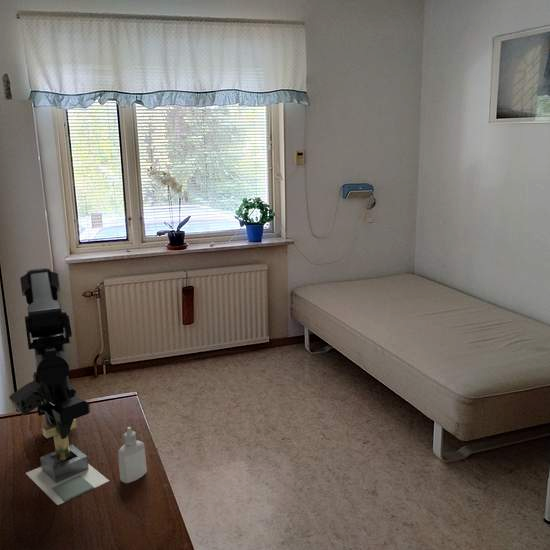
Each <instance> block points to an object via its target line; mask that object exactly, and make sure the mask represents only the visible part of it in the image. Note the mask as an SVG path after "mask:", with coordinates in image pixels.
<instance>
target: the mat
mask: <svg viewBox="0 0 550 550" xmlns="http://www.w3.org/2000/svg"><path fill="white" fill-rule="evenodd" d="M93 488H94V487H93V486H92V485H91V484H90V483H89V482H87V481H86V480H85V479H84V478H83V477H82V476H77V477H75V478H73V479H71V480H68V481H66V482H64V483H62V484H59V485H57V486H55V487H53V488H52V489H53V490H54V491H55V492H56V493H57V494H58V495H59V496H60V497H61V498H62V499H63V500H64V501H66V502H68V501H70V500H72V499H74V498H76V496H77V497H79V496H81V495H83V494H86V493H88V492H90V491H91V490H94V489H95V488H94V489H93ZM82 493H83V494H82ZM80 494H81V495H80ZM78 495H79V496H78Z"/></svg>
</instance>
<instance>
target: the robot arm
mask: <svg viewBox="0 0 550 550" xmlns="http://www.w3.org/2000/svg"><path fill="white" fill-rule="evenodd" d="M19 281H20V287H21V294H22V297H25V299H26V304H27V315H24V323H25V331H26V338H27V346H28V347H27V348H28V350H33V351H34V356H35V368H36V370H35V371H34V372H33V375H32V378H33V379H32V381H31V382H28V383H27V384H25V385H23V386H22V387H20V388H18V389H17V390H16V391H14V392H13V393H11V394H10V396H9V400H10V402H11V403H12V405H13V406H14V408H15V410H17V411H18V412H19V413H20V414H21V415H24V416H25V415H28V414H29V413H30V412H31V411H34V410H35V409H37V414H38V417H40V416H44V421H45V426H47V425H50V424H52V423H55V422H56V424H57V427H58V430H59V434H60V436H61V439H64V438H67V436H68V437H69V433H70V432H71V430H72V429H70V428H71V425H72V423H73V420H74V419H78V418H81V417H83V416H86V415H89V414H90V413H91V408H90V407H91V406H90V403H89V402H88V401H86V400H85V399H83V398H81V397H80V396H78V395H77V390H76V389H74V386H73V385H70V379H69V376H71V375H72V370H71V369H70V367H69V366H70V365H69V362H68V358H67V354H66V348H65V344H70V338H72V337H73V333H72V327H71V322H70V321H71V320H70V316H69V315H68V314H67V312H66V310H62V306H61V303H60V302H59V301H58V293H60V291H61V287H60V280H59V274H58V273H57V272H55V271H51V268H47V267H44V268H43V267H42V268H32V269H29V270H26V274H24V275H22V276H21V277H19ZM64 334H65V335H64ZM31 340H32V341H31ZM41 433H43V431H42V429H41Z"/></svg>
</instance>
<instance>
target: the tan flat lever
mask: <svg viewBox="0 0 550 550" xmlns="http://www.w3.org/2000/svg"><path fill="white" fill-rule="evenodd" d="M76 419H77V418H76ZM76 419H74V420H73V423H72V425H71V428H70V429H71V430H73V429H76V428H77V420H76ZM41 430H42V431H43V432H42V431H41V432H42V435H43V436H44V438H46V439H49V438H51V437H53V441H54V450H55V451H56V458H57V460H65V459H67V458H69V457H70V448H69V446H70V443H69V442H70V441H69V440H70V439H69V435H68V436H67V438H64V439H61V436H60V434H59V430H58V427H57V424H56V422H55V423H52V424H50V425H47V426H46V425H45V426H42V427H41ZM55 451H54V452H55Z"/></svg>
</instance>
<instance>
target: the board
mask: <svg viewBox="0 0 550 550" xmlns="http://www.w3.org/2000/svg"><path fill="white" fill-rule="evenodd" d="M88 467H89V469H87V470H85V471H83V472H81V473H78V474H76V475H74V476H71V477H69V478H67V479H65V480H62V481H60V482H58V483H55V482H54V481H53V480H52V479H51V478H50V477H49V476H48V475H47V474H46V473H44V472H43V471H42V468H41V466H38V467H37V468H34V469H32V470H29V471H27V472H25V474H26V475H27V476H28V477H29V479H30V480H32V481H33V482H34V483H35V485H37V487H39V488H40V490H42V491H43V492H44V493H45V495H46V496H47V497H48V498H49V499H51V500H52V502H53V503H55V504H56V505H57V506H59V505H61V504H64V503H66V502H67V501H64V500H63V499H62V498H61V497H60V496H59V495H58V494H57V493H56V492H55V491H54V490H53V489H52V488H53V487H55V486H57V485H59V484H62V483H64V482H66V481H68V480H71V479H73V478H75V477H77V476H82V477H83V478H84V479H85V480H86V481H87V482H89V483H90V484H91V485H92V486H93V487H94V488H93V489H92V490H94V489H96V488H98V487H99V486H102V485H105V484H106V483H108V482H110V479H108V478H107V477H105V475H104V474H102V473H100V472H99V471H98V469H96V468H95V467H94V466H92V465H91V464H89V463H88ZM81 495H84V493H82V494H80V495H78V496H76V497H79V496H81ZM76 497H75V498H76Z"/></svg>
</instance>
